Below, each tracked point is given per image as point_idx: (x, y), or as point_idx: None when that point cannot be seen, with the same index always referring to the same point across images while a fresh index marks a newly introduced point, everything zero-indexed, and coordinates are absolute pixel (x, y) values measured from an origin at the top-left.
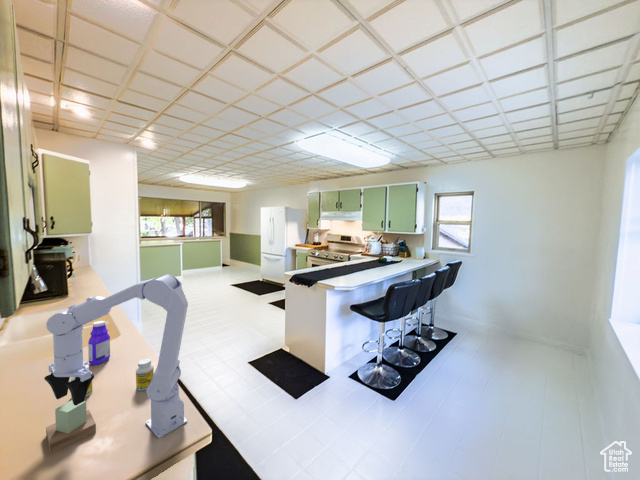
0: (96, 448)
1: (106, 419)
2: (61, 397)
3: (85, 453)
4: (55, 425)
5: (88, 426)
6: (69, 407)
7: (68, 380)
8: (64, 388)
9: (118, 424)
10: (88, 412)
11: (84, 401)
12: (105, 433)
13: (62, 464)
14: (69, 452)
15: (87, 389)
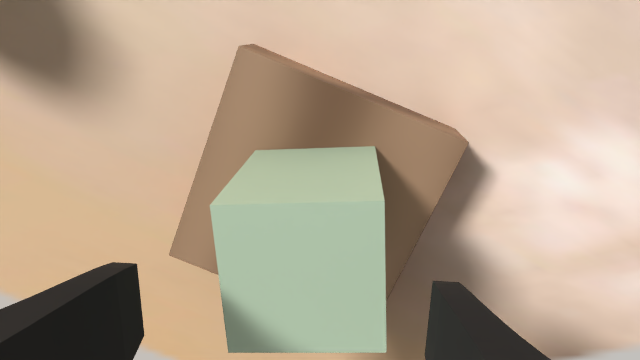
0: (591, 214)
1: (400, 17)
2: (140, 309)
3: (559, 253)
4: (207, 230)
5: (442, 175)
6: (324, 305)
7: (10, 346)
8: (83, 333)
9: (543, 26)
10: (274, 71)
11: (365, 205)
12: (530, 116)
13: (508, 325)
14: (460, 271)
15: (542, 357)
